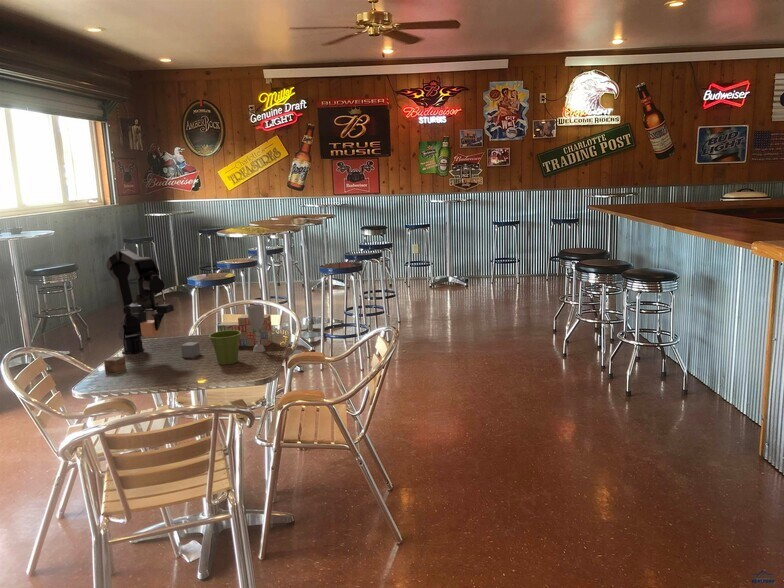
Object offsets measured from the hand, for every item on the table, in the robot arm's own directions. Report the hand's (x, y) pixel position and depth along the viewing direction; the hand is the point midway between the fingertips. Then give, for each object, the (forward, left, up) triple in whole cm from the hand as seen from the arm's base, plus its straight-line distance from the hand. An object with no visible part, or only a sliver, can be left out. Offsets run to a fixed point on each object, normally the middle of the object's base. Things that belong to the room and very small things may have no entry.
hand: (150, 330), depth 236 cm
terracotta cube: (0, 0, -2) cm, 2 cm away
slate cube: (+12, +7, -12) cm, 18 cm away
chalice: (+37, +16, -12) cm, 42 cm away
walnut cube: (-6, -15, -12) cm, 20 cm away
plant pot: (+32, -1, -12) cm, 34 cm away
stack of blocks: (+27, +26, -12) cm, 39 cm away
